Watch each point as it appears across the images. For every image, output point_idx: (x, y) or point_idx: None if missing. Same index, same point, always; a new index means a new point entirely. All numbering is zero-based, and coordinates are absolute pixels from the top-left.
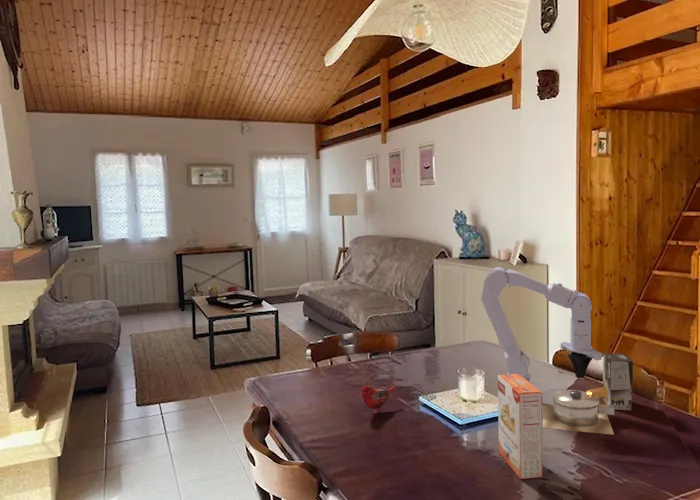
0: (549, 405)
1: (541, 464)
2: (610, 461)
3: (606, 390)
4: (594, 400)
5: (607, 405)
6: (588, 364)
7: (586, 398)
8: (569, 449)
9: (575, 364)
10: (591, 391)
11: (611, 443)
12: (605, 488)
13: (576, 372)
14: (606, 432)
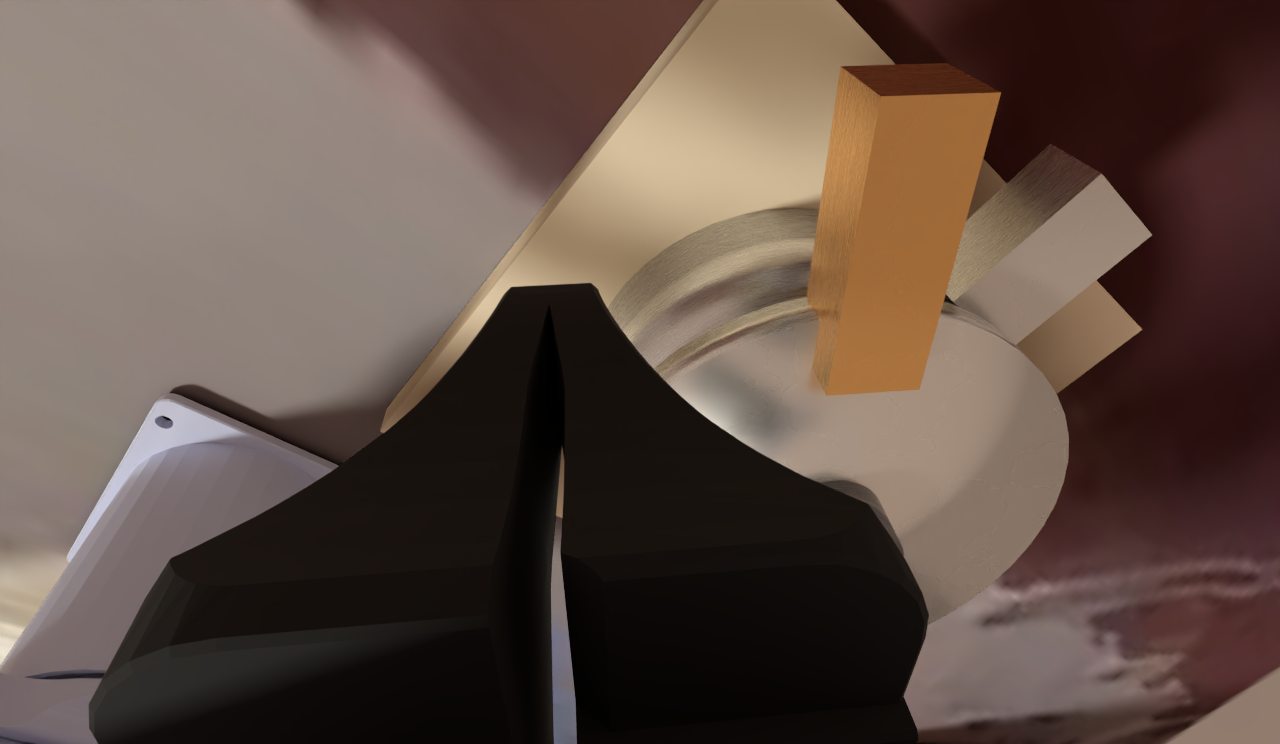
0: (419, 389)
1: None
2: (1216, 512)
3: (988, 105)
4: (1009, 426)
5: (1058, 243)
6: (711, 430)
7: (915, 457)
8: (992, 589)
9: (550, 641)
10: (896, 367)
11: (1134, 372)
12: (1276, 643)
13: (557, 481)
14: (1083, 353)
